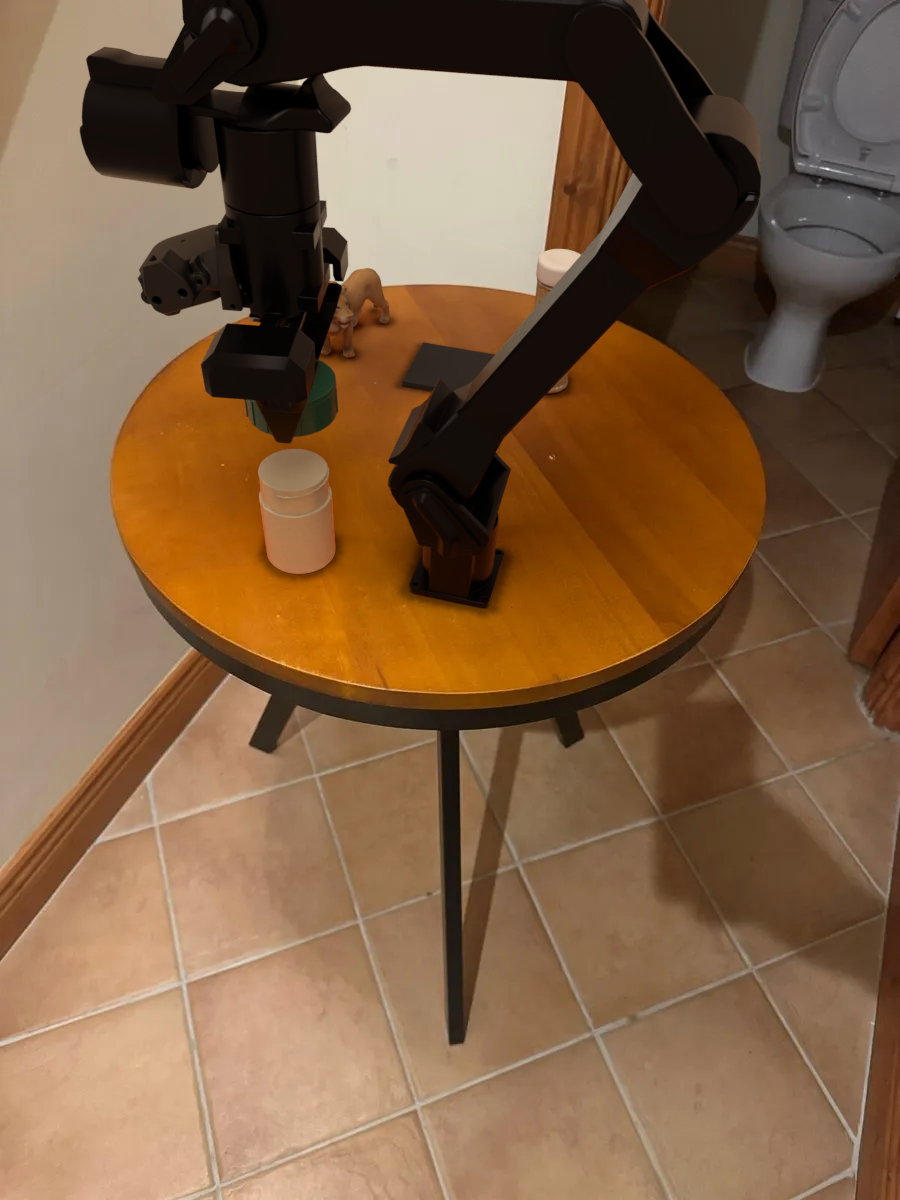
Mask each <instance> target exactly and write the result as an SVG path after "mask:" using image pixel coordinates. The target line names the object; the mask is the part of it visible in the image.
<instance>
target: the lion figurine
mask: <svg viewBox="0 0 900 1200" xmlns="http://www.w3.org/2000/svg"><path fill="white" fill-rule="evenodd" d="M329 282H330V283H338V281H335V280H329ZM340 285H341V286H342V292H341V295H340V299H339V302H338V305H337V308H336V311H335V314H334V317H333V320H332V323H331V325H330V328H329V331H328V334H327V337H326V339H325V342H324V345H323V348H322V351H321V354H320V355H324V356H327V355H329V354H330V353H331V351H332V341H331V338H332V337H334V338H335V337H338V336H340V335H342V337H343V342H342V351H343V352H342V355H343V357H344V358H346V359H351V358H354V357H355V356H356V354H355V351H354V343H353V338H354V331H355V329H354V327H356V326H357V324H358V321H359V318H360V316H361V314H362V311H363V307H364V305H365V302H366V301H367V300H368V301H369V302H371V303H372V305H373V308H376V309H381V311H382V313H381V315H380V316H379V318H378V320H379V322H380V324H389V323H390V322H391V317H390V316H391V315H390V304H389V302H388V300H387V299H386V298H385V295H384V291H383V290H384V289H383V284H382V280H381V277H380V275H379V274H378V272H377V271H376V270H375V269H373V268H370V267H364V268H359V269H355V270H354V271H352V272H351V273H350V274H349V276H348V277H347V278H346V280H344V281H343V282H342V283H341V284H340Z"/></svg>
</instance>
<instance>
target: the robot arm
mask: <svg viewBox="0 0 900 1200" xmlns="http://www.w3.org/2000/svg"><path fill="white" fill-rule="evenodd" d="M181 11H182V21H183V26H182V28H181V30H180V31H179V34H178V36H177V37H176V39H175V42H174V44H173V46H172V48H171V50H170V51H169V54H168V56H167V58H166V57H159V56H152V55H151V56H150V55H143V54H136V53H133V52H131V51H128V50H125V49H123V48H118V47H108V46H103V47H102V48H100V49H98V50H96V51H94V52H93V53H90V54H89V55H87V57H86V58H85V61H86V67H87V70H88V76H89V80H88V82H87V85H86V87H85V90H84V93H83V98H82V107H81V125H80V126H79V135H80V141H81V145H82V147H83V150H84V153H85V156H86V158H87V160H88V162H89V164H90V165H91V166H92V168H93V169H94V171H95V172H96V173H98V174H100V175H101V176H104V177H108V178H115V179H122V180H128V181H135V182H142V183H149V184H156V185H163V186H169V187H177V188H178V187H179V188H184V189H192V190H195V189H197V188H198V187H200V186H201V185H202V184H203V183H204V181H205V179H206V178H207V175H208V174H212V173H214V172H215V171H216V170H217V169H218V167H219V173H220V180H221V188H222V196H223V203H224V210H225V213H224V215H223V217H222V219H221V220H220V222H218V223H217V224H209V225H206V226H202V227H199V228H196V229H193V230H190V231H186V232H183V233H180V234H176V235H173V236H171V237H168V238H165V239H163V240H160V241H159V242H158V243H156V244H155V245H154V246H153V247H152V249H151V250H150V252H149V253H148V255H147V256H146V257H145V259H144V260H143V263H142V264H141V265H140V267H139V269H138V271H139V273H140V274H139V275H138V277H137V281H138V282H139V284H140V286H141V293H140V298H141V300H142V301H143V302H144V303H145V304H146V305H151V307H152V309H153V310H154V311H156V312H157V313H159V314H162V315H164V316H165V317H166V316H167V317H172V316H176V315H179V314H180V313H181V311H183V310H186V309H190V308H193V307H196V306H199V305H203V304H207V303H210V302H213V301H216V300H219V299H220V302H221V309H222V311H232V312H242V311H243V310H244V309H249V314H248V319H249V320H248V321H250V322H251V323H259V324H244V323H243V324H241V323H230V322H227V323H226V324H224V326H222V328H221V329H220V330H219V331H218V332H217V333H215V334H214V336H213V338H212V340H211V342H210V344H209V346H208V349H207V350H206V353H205V354H204V357H203V359H202V361H201V363H200V369H201V374H202V380H203V387H204V392H206V394H208V395H209V396H210V397H211V398H216V399H217V398H218V399H233V400H243V401H245V400H254V401H255V402H256V404H257V406H258V408H259V410H260V412H261V414H262V415H263V417H264V419H265V421H266V423H267V425H268V427H269V429H270V431H271V433H272V435H271V436H272V437H273V439H274V441H275V442H276V443H278V444H286V445H287V444H292V442H293V440H294V438H295V437H294V435H295V432H296V429H297V426H298V424H299V421H300V418H301V415H302V413H303V410H304V408H305V405H306V402H307V399H308V397H309V394H310V391H311V389H312V386H313V384H314V380H315V377H316V374H317V370H318V367H319V362H317V361H315V360H316V359H318V360H320V357H321V355H322V354H321V351H322V348H323V345H324V342H325V339H326V337H327V334H328V331H329V328H330V325H331V323H332V320H333V317H334V314H335V311H336V308H337V305H338V302H339V299H340V295H341V292H342V286H341V284H340V283H338V282H342V283H344V282H345V278H346V274H347V271H348V267H349V252H348V251H349V248H348V247H349V244H348V240H347V239H346V238H345V236H343V235H342V234H341V233H340V232H339V231H338V229H336V227H329V226H324V225H325V223H326V221H327V217H328V210H327V209H328V208H327V207H328V206H327V200H322V199H321V198H320V197H321V196H320V181H319V179H320V178H319V164H318V147H317V133H318V134H319V133H320V134H331V133H332V132H333V131H334V130H335V129H336V128H337V127H338V126H339V125H340V124H341V123H342V122H343V121H344V119H346V117H348V115H350V114H351V111H352V105H351V104H350V102H349V101H348V100H347V99H346V98H345V97H344V96H343V95H342V94H341V93H340V92H339V91H338V90H336V89H335V88H334V87H333V86H332V85H331V84H330V83H329V82H328V80H327V79H326V77H325V75H324V74H328V73H333V72H336V71H341V70H345V69H351V68H352V69H353V68H360V67H361V68H362V67H370V68H371V67H373V68H385V69H386V68H387V69H399V70H413V71H424V72H437V73H438V72H439V73H451V74H467V75H478V76H479V75H480V76H493V77H505V78H506V77H507V78H517V79H519V78H521V79H533V80H534V79H535V80H546V81H547V80H549V81H558V82H559V81H560V82H573V83H576V84H578V85H579V86H580V88H581V89H582V91H583V92H584V94H585V95H586V96H587V97H588V98H589V100H590V101H591V102H592V104H593V105H594V107H595V110H596V111H597V113H598V115H599V116H600V118H601V121H602V122H603V124H604V126H605V128H606V129H607V131H608V133H609V134H610V137H611V138H612V140H613V142H614V144H615V146H616V147H617V149H618V151H619V153H620V155H621V156H622V158H623V161H624V162H625V163H626V165H627V166H628V168H629V169H630V170H631V172H632V174H631V175H630V177H629V180H628V181H627V184H626V185H625V187H624V189H623V191H622V193H621V195H620V197H619V198H618V200H617V203H616V204H615V206H614V208H613V210H612V212H611V214H610V216H609V217H608V219H607V221H606V223H605V225H604V226H603V228H602V229H601V231H600V232H599V233H598V234H597V235H596V237H595V238H594V239H593V240H592V242H591V243H590V244H589V245H588V246H587V247H586V249H585V250H583V252H582V253H580V254H581V256H580V257H579V258H578V259H577V260H576V261H575V262H574V264H573V265H572V266H571V267H570V268H569V269H568V271H567V272H566V273H565V274H564V275H563V276H562V278H561V279H560V280H559V281H558V282H557V283H556V285H555V286H554V287H553V288H552V289H551V290H550V292H549V293H548V294H547V295H546V296H545V297H544V299H543V300H542V301H541V302H540V303H539V304H538V306H537V307H536V308H535V309H534V308H533V310H532V311H531V313H529V314H528V316H527V317H526V319H524V321H523V322H522V323H521V324H520V325H519V327H518V328H517V329H516V330H515V331H514V332H513V334H512V335H511V336H510V337H509V338H508V339H507V340H506V341H505V343H504V344H503V345H502V346H501V348H500V349H498V351H497V352H496V353H494V354H495V356H494V357H493V358H492V359H491V360H490V361H489V363H488V364H487V365H486V366H485V367H484V368H483V370H482V371H481V372H480V373H479V374H478V375H477V377H476V378H475V379H474V380H473V381H472V382H470V383H469V384H468V385H466V386H464V387H461V388H459V389H456V390H454V391H452V390H451V389H450V388H449V387H448V386H447V385H446V384H445V383H444V382H443V381H442V380H441V379H438V381H437V383H436V385H435V387H434V388H433V390H432V391H430V392H431V393H430V395H429V396H428V397H427V398H426V400H425V401H423V402H422V403H421V404H420V405H417V406H416V407H415V406H414V408H412V409H411V410H410V413H409V415H408V417H407V420H405V421H406V422H405V423H404V426H403V428H402V430H401V432H400V435H399V436H398V439H397V440H396V443H395V445H394V447H393V450H392V451H391V453H390V455H389V458H388V460H387V462H388V463H389V464H391V465H393V467H392V469H391V472H390V474H389V476H388V480H387V486H388V488H389V490H390V493H391V496H392V497H393V499H394V501H395V502H396V503H397V505H398V506H400V507H401V508H402V509H403V512H404V514H405V516H406V518H407V521H408V524H409V526H410V528H411V530H412V533H413V536H414V538H415V541H416V542H417V544H418V545H419V546H421V547H422V553H420V554H421V555H420V556H419V559H418V562H417V564H416V567H415V569H414V572H413V574H412V576H411V579H410V582H409V585H408V586H409V587H408V588H409V591H410V593H413V594H414V593H415V594H418V595H422V596H426V597H427V596H428V597H432V598H437V599H441V600H446V601H451V602H456V603H460V604H466V605H471V606H475V607H479V608H486V607H488V606H489V605H490V603H491V600H492V597H493V594H494V591H495V587H496V584H497V582H498V577H499V575H500V572H501V568H502V566H503V565H502V564H503V563H504V558H505V551H504V550H503V549H501V548H497V537H498V529H499V519H500V517H499V510H500V507H501V503H502V501H503V497H504V494H505V490H506V488H507V484H508V481H509V477H510V474H511V471H512V470H511V467H510V466H509V465H508V464H507V463H506V462H505V460H503V458H501V456H500V455H498V453H497V451H498V449H499V448H500V446H501V445H502V442H503V441H504V439H505V438H506V437H507V436H508V434H510V433H511V432H512V430H513V429H515V427H516V426H517V425H518V424H519V423H520V422H521V421H522V420H523V419H524V418H525V417H526V416H527V415H528V414H529V413H530V412H531V411H532V410H533V409H534V408H535V407H536V406H537V404H538V403H540V401H541V400H542V399H543V398H545V396H546V395H547V394H549V393H548V392H549V391H550V390H551V389H552V388H553V387H554V386H555V384H556V383H557V382H558V381H559V380H560V379H561V378H562V377H563V376H564V375H565V374H566V373H567V372H568V371H571V369H573V367H574V366H575V365H576V364H577V362H579V361H580V359H582V358H583V356H584V355H585V354H586V353H587V352H588V351H589V350H590V349H591V348H592V347H593V346H594V345H595V344H596V343H597V342H598V341H599V340H600V339H601V338H602V336H604V335H605V333H607V331H608V330H609V329H610V328H611V327H613V325H615V323H616V322H617V321H618V320H619V319H620V318H621V317H622V316H623V315H624V314H625V313H626V311H628V309H629V308H631V307H632V305H633V304H634V303H636V301H637V300H639V298H640V297H641V296H642V295H643V294H644V293H645V292H647V291H648V290H649V289H651V288H654V287H656V286H658V285H660V284H662V283H664V282H667V281H668V280H671V279H673V278H675V277H678V276H680V275H682V274H684V273H687V272H688V271H690V270H691V269H693V268H695V266H697V265H698V264H700V263H701V262H702V261H704V260H705V259H706V258H708V257H709V256H711V255H712V254H713V253H715V252H717V250H718V249H720V248H721V247H723V246H725V245H726V244H727V243H728V242H729V241H731V240H732V239H734V238H735V237H736V236H737V235H738V234H740V233H741V232H742V231H743V230H744V229H745V227H746V226H747V225H748V223H749V222H750V221H751V220H752V218H753V216H754V215H755V213H756V210H757V208H758V206H759V205H760V204H759V203H760V197H761V185H762V170H761V169H762V160H761V156H762V155H761V154H762V153H761V134H760V131H759V127H758V125H757V121H756V119H755V117H754V116H753V115H752V113H751V112H750V110H749V109H748V108H747V107H746V106H745V105H744V104H742V103H740V102H739V101H738V100H735V99H734V98H732V97H729V96H724V95H720V94H716V93H715V92H714V90H713V88H712V87H711V85H710V84H709V83H708V81H707V79H706V78H705V77H704V75H703V74H702V72H701V71H700V69H699V68H698V67H697V65H696V64H695V63H694V61H693V60H692V59H691V58H690V57H689V55H687V53H686V52H685V51H684V50H683V48H681V46H680V45H678V43H677V42H676V41H675V40H674V39H673V38H672V36H671V35H670V34H669V33H668V32H667V31H666V29H664V27H663V26H662V25H661V23H659V21H658V19H656V17H655V16H654V13H652V11H651V9H650V8H649V7H648V3H647V1H646V0H181ZM302 80H303V82H302V83H301V84H296V83H295V84H294V83H289V82H295V81H296V82H297V81H302ZM223 82H224V83H226V84H229V85H233V86H237V87H240V88H246V89H245V91H235V90H234V91H233V90H225V89H217V87H218V86H219V85H221V84H222V83H223ZM330 265H332V276H333V280H334V281H336V282H337V283H330V282H329V281H331V266H330ZM568 373H569V372H568Z"/></svg>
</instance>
